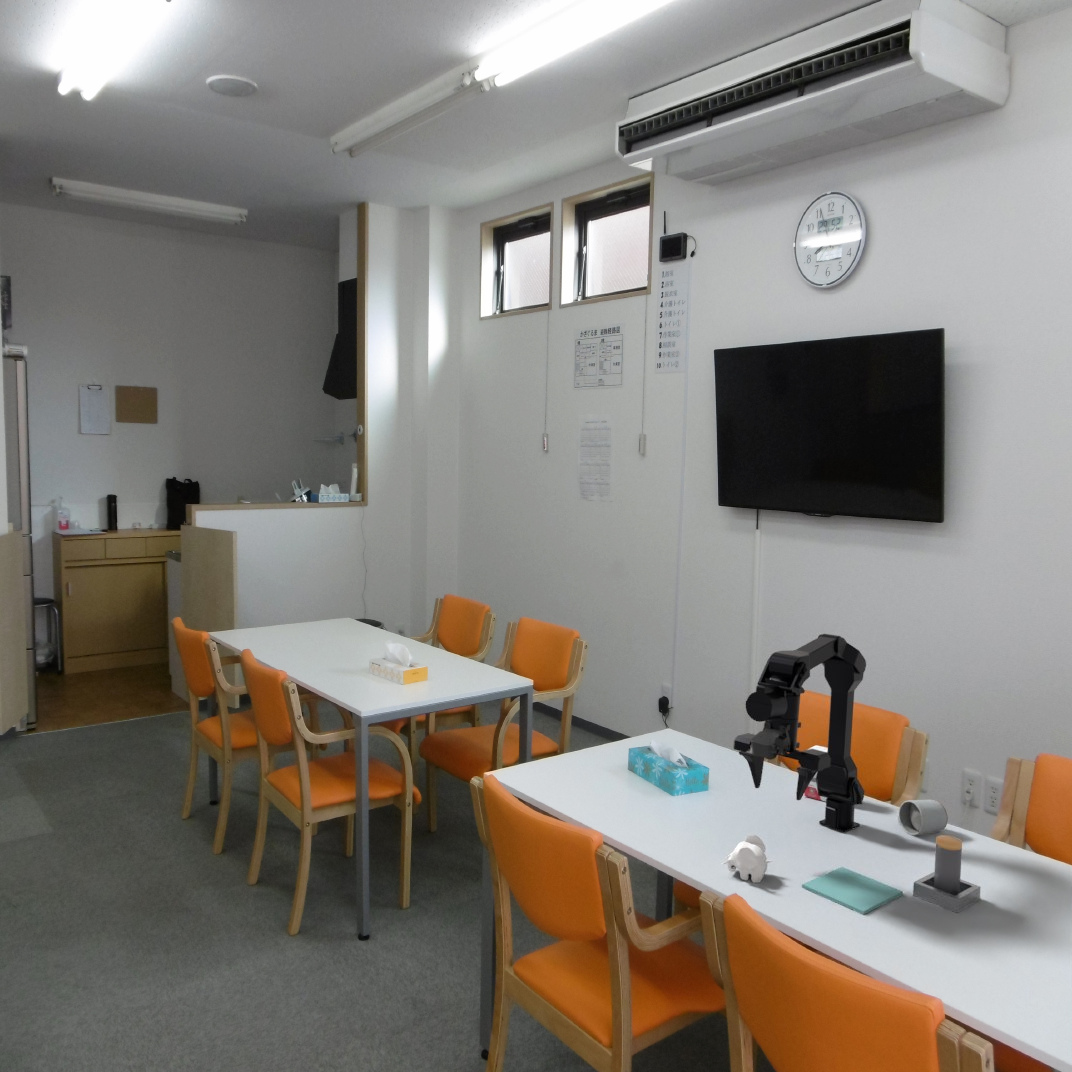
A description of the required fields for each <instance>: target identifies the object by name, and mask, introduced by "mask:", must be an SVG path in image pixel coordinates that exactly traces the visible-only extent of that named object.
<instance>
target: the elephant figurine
mask: <svg viewBox="0 0 1072 1072" xmlns="http://www.w3.org/2000/svg"><path fill="white" fill-rule="evenodd" d="M765 853H766V845H765V843H764V842H763V840H762V839H761V837H759V836H758V835H757V834H751V835H747V837H746V838H745V839H744V841H740V842H738V844H737V846H736V847H735V848H734V849H733V851H732V852H731V853H730V854H728V855H726V856H725V857H724V858H728V859H727V860H726V861H724V862H721V865H726V866H727V869H728V871H729V872H735V871H736V869H737V870H738V872H739V875H740V879H741V880H742V881H747V880H749V877H750V876H749V875H751V882H753V883H754V884H755V883H760V882H761V881H762V879H763V878H764V876H765V873H766V872H767V870H768V863H772V862H773V860H770V859H768V858H767V856H766V854H765Z"/></svg>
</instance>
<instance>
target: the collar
mask: <svg viewBox="0 0 1072 1072" xmlns="http://www.w3.org/2000/svg"><path fill="white" fill-rule="evenodd" d="M934 873H935V871H933V872H931V873H929V874H927V875H925V876H923V877H921V878H920V879H918V880H917V879H916V880H915V881H913V890H912V896H914V897H916V898H920V899H921V900H923V901H926V902H929V903H932V904H934V905H936V906H939V907H942V908H944V909H947V910H949V911H952V912H954V913H957V914H958V913H960V912H961V911H963V910H964V909H966V908H968V907H970V906H972V905H973V904H975V903H976V902H979V901H980V900H981V886H980V885H977V884H975V883H971V882H969V881H966V880H963V879H962V878H960V893H959V894H957V895H955V896H954V895H952V894H949V893H947V892H944V891H942V890H939V889H936V888H934Z"/></svg>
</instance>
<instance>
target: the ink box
mask: <svg viewBox="0 0 1072 1072" xmlns="http://www.w3.org/2000/svg"><path fill="white" fill-rule="evenodd" d="M809 749H815V750H819V751H823V752H827V751H828V747H826V746H822V745H821V746H820V745H814V746H812V747H809V748H808V749H806V750H809ZM816 775H817V773H816V774H815V776H814V777H813V778H812V780H811V782H810V783H809V785H808V787H807V789H806V791H805V793H804V794H803V796H805V797H806V798H811V799H815V800H820V801H822V802H826V799H827V798H826V797H823V796H818V790H817V783H816Z"/></svg>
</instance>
